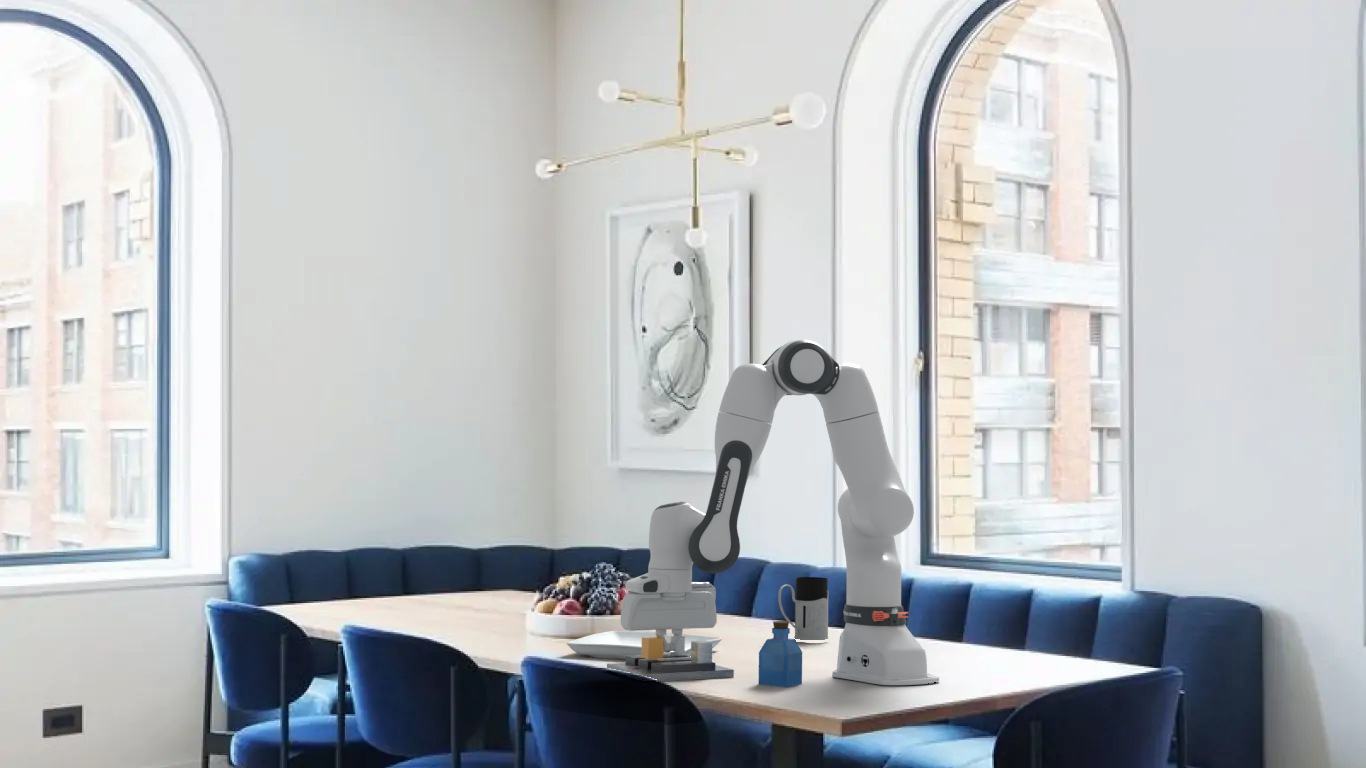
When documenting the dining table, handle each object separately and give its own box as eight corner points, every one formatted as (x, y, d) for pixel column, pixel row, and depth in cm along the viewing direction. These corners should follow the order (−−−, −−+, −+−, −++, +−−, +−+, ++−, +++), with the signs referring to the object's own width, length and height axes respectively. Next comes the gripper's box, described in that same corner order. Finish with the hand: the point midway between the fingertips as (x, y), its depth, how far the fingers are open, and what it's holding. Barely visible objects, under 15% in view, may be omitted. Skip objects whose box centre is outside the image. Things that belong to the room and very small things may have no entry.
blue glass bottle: (786, 687, 320) (787, 624, 321) (758, 684, 323) (759, 622, 324) (801, 683, 325) (802, 621, 326) (773, 681, 329) (774, 619, 329)
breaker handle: (662, 658, 334) (663, 638, 334) (648, 659, 332) (648, 639, 332) (655, 656, 336) (656, 636, 337) (641, 657, 335) (641, 637, 335)
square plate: (563, 659, 361) (564, 641, 361) (612, 645, 386) (612, 628, 387) (682, 666, 351) (682, 648, 352) (723, 652, 377) (723, 635, 377)
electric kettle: (837, 642, 397) (838, 578, 397) (789, 645, 389) (790, 580, 389) (814, 638, 404) (814, 576, 405) (767, 641, 396) (768, 578, 397)
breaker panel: (733, 677, 333) (734, 641, 333) (643, 682, 324) (643, 645, 324) (694, 666, 348) (695, 632, 348) (606, 671, 339) (607, 636, 339)
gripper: (708, 580, 344) (707, 648, 344) (617, 582, 335) (616, 651, 334) (722, 583, 338) (721, 651, 338) (631, 584, 329) (629, 655, 329)
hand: (668, 651), depth 336 cm, fingers closed
